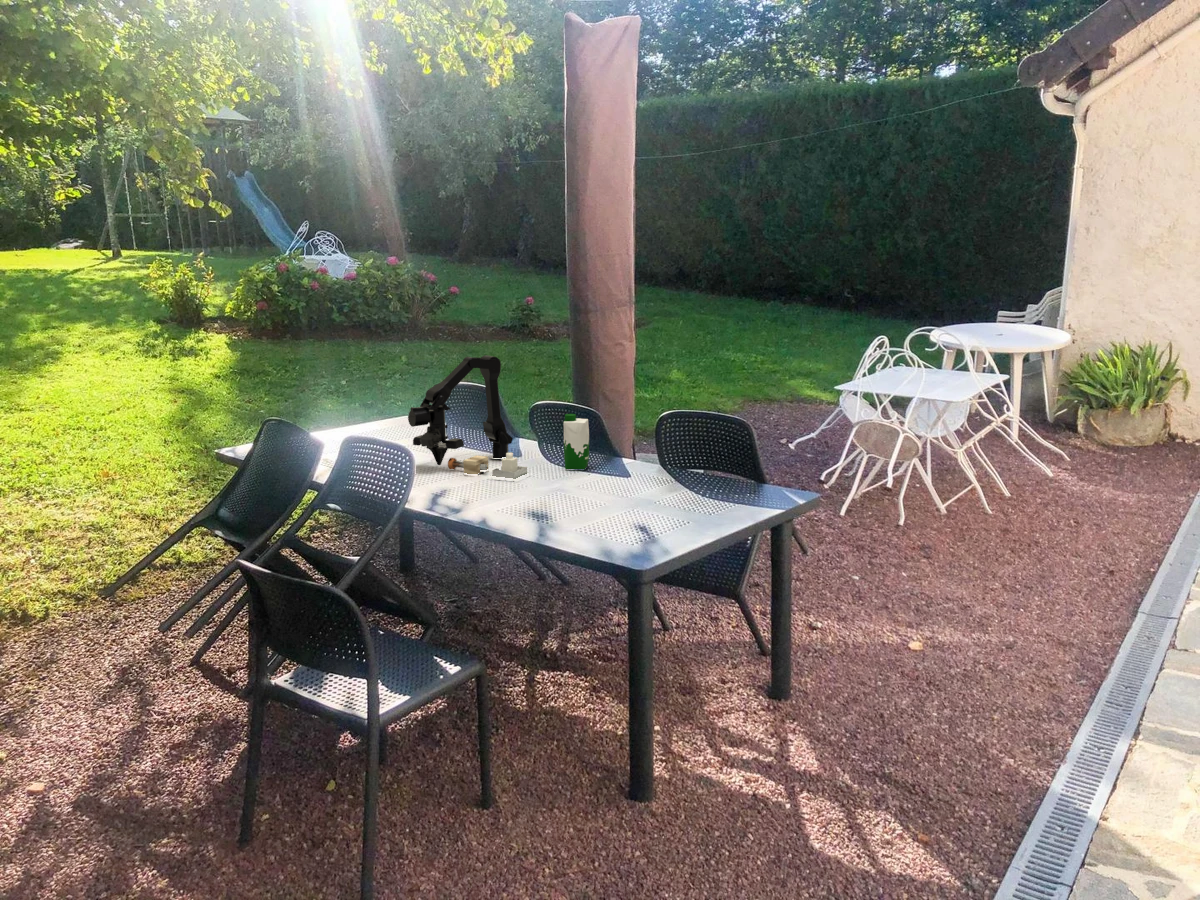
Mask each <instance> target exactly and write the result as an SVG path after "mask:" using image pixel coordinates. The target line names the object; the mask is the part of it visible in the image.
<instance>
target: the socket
mask: <svg viewBox="0 0 1200 900" xmlns="http://www.w3.org/2000/svg"><path fill="white" fill-rule="evenodd" d="M491 473H492V474H491V475H492V476H496V477H505V478H513V479H516V478H518V477H520V476H522V475H525V474H527V473H528V467H527V466H522V465H521V466H520V465H518V470H516V471H514V472H511V471H502V465H501V466H500V468H494V469H492V471H491Z"/></svg>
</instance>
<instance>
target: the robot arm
mask: <svg viewBox="0 0 1200 900" xmlns="http://www.w3.org/2000/svg"><path fill="white" fill-rule="evenodd" d="M501 366H502V362H501V360H500V359H499V358H498V357H497V356H492V355H486V354H485V355H482V356H481V357H476V356H475V357H472V356H465V357H464V358H463V359H462V361H461V362H460V363H459V364H458V365H457V366H456V367H455V368H454V369H453V370H452V371H451V372H450V373H449V374H448V375H447V376H446V377H445V378H444V379H443V380H442V381H441V382H439V383H437V384H435V385H433V386H432V387H430V388H428V389H427V390H426V392H425V396H424V399H423V400H422V401H421V403H420V405H419V406H416V407H414V406H413V407H410V410H409V412H408V415H407V419H408V424H409V425H410V426H411V427H420V426H426V425H429V426H426V432H425V433H423V434H420V435H417V436H415V437H414V438H413V440H412V445H413V446H419V447H420V446H421V447H424V448H426V449H428V450H429V451H430V452H431V453H432V455H433V458H434V459H435V460H434V461H435V462H436V465H438V466H441V465H442V462H443V461H444V458H445V455H446V454H447V451H448V450H449V449H450V450H457V449H459V448H463V447H465V445H464V444H465V443H464V440H463V438H458V437H457V438H456V437H453V438H450V439H449V436H448V435H446V431H447V430H446V429H447V428H448V425H447V424H446V411H450V410H451V408H450V407H449V406H448V405H447V404H446V402H447V401H448V400H449V398H450V396H451V394H452V391H453V390H454V389H455V388H456V386H458V384H459V383H460V382H462V381H463V380H464V379H465V378H466V377H467V375H469V373H471V371H473V370H474V369H479V371H480V374H481V376H482V377H483V379H484V385H485V386H484V387H485V396H486V397H485V399H486V410H487V419H486V421H482V427H483V431H482V432H483V433H484V434H485V436H486V438H488V440H489V442H491V443H492V456H493V458H502V457H506V453H509V444H512V442H513V436H511V435H510V434H509V432H507V427H506V424H505V422H504V420H503V418H502V416H501V407H500V406H501V404H500V403H501V402H500V393H499V392H500V391H499V382H498V380H499V378H500V377H499V376H500V374H501V369H502V367H501Z"/></svg>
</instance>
